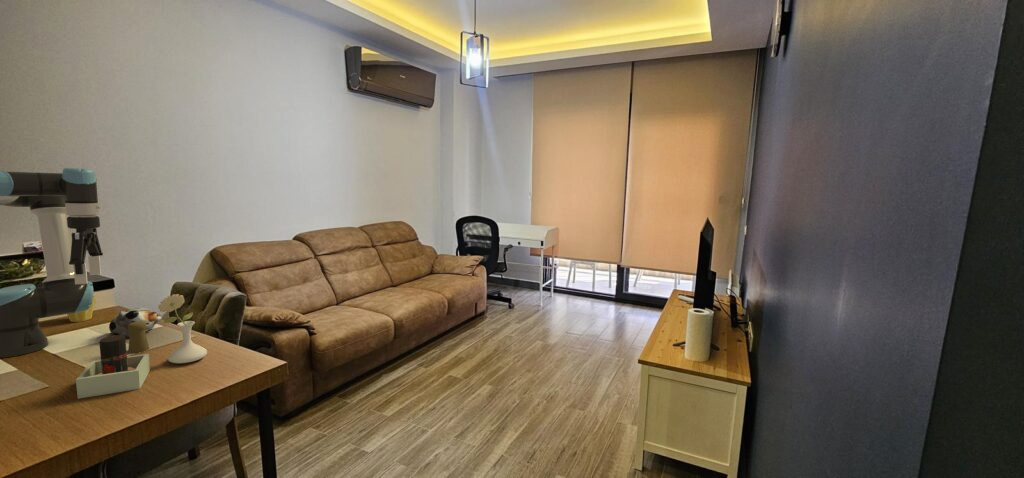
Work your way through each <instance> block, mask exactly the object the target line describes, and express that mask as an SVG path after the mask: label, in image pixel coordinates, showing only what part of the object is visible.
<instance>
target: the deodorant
mask: <svg viewBox="0 0 1024 478" xmlns="http://www.w3.org/2000/svg"><path fill="white" fill-rule="evenodd" d="M126 340H127V339H126V338H125V336H124V335H109V336H105V337H102V338H101V339H99V342H98V343H99V353H100V360H101V366H102V375H103V374H110V373H117V372H124V371H128V363H127V357H128V351H127V341H126Z"/></svg>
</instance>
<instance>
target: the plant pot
mask: <svg viewBox="0 0 1024 478" xmlns="http://www.w3.org/2000/svg"><path fill="white" fill-rule="evenodd" d="M94 305H96V296H95V295H93V302H92V305H91V307H90V308H89V309H88V310H86V311H81V312H76V313H70V314H66V315H67V316H68V319H69V322H71V323H80V322H85V321H89V320H91V319H92V316H93V311H94V307H95V306H94Z"/></svg>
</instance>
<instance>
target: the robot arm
mask: <svg viewBox="0 0 1024 478" xmlns="http://www.w3.org/2000/svg"><path fill="white" fill-rule="evenodd" d="M97 182H98V178H97V175H96V171H95V170H94V169H92V168H83V167H82V168H80V167H79V168H78V167H77V168H76V167H65V168H63V169H62V172H61V173H59V172H32V171H31V172H29V171H25V172H23V171H5V170H0V206H4V207H13V208H29V209H30V213H32V214H34V215H35V216H36V217H37V221H38V226H39V227H38V228H39V235H40V240H41V246H42V247H41V248H42V253H43V259H44V265H45V272H46V277H45V279H43V281H42V282H41V285H42V286H38V287H36V285H35V284H33V283H26V284H25V283H23V284H17V285H11V286H5V287H2V288H1V287H0V358H1V359H3V358H10V357H11V358H12V357H17V356H23V355H26V354H31V353H34V352H37V351H40V350H42V349H45V348H47V347H48V346H49V340H48V337H47V335H46V334H45V333H44V331H43V330H42V328H41V327H40V322H39V320H40V319H45V318H51V317H56V316H62V315H67V314H70V313H76V312H81V311H86V310H88V309H89V308H90V307H91V305H92V302H93V296H94V286H93V284H94V283H93V282H92V281H90V280H88V273H87V263H86V262H85V261H86V256H87V255H86V254H87V253H88V268H89V276H100V275H102V269H101V267H102V266H101V257H102V256H103V255H104V253H103V251H102V248H101V244H100V240H99V236H98V230H97V229H98V228H100V227H101V219H100V216H98V215H99V214H100V213H99V209H101V207H102V206H101V205H99V199H98V198H99V197H98V186H97ZM73 229H75V232H73Z"/></svg>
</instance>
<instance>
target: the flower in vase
mask: <svg viewBox="0 0 1024 478" xmlns="http://www.w3.org/2000/svg"><path fill="white" fill-rule="evenodd" d="M159 303H160V304H158V307H157V308H158V310H159V312H162V313H164V312H166V313H171V312H173V311H174V312H175V314H176V316H170V317H168V318H166V319H164V321H163V322H162V323H163V324H169V323H174V322H175V321H176V320H180V321H181V322H178V323H177V324H176V326H178V327H179V329H180V330H181V333H182V343H181V345H179V346H178V347H177V348H175V349H174V350H173V351H172V352H171V353H170V354H169V355H168V356H167V360H168V362H170V363H172V364H188V363H192V362H193V363H194V362H195V361H198V360H199V361H200V359H203V358H204V357H206V356H207V354H208V350H207V349H206V348H204V347H203V346H201V345H199V344H196V343H194V342H193V341H192V337H191V336H192V327H193V326H194V325H195V323H196V322H195V321H193V320H191V318H192V316H193V315H194V311H191V312H189V313H188V314H185V315H184V316H183V317H182V319H181V318H180V317H179V315H178V312H177V309H179V308H181V307H182V306H183V304H184V303H185V298H184V295H181V294H179V293H176V294H174V293H173V294H172V295H167V297H165V298H164V299H162V301H160V302H159Z"/></svg>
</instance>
